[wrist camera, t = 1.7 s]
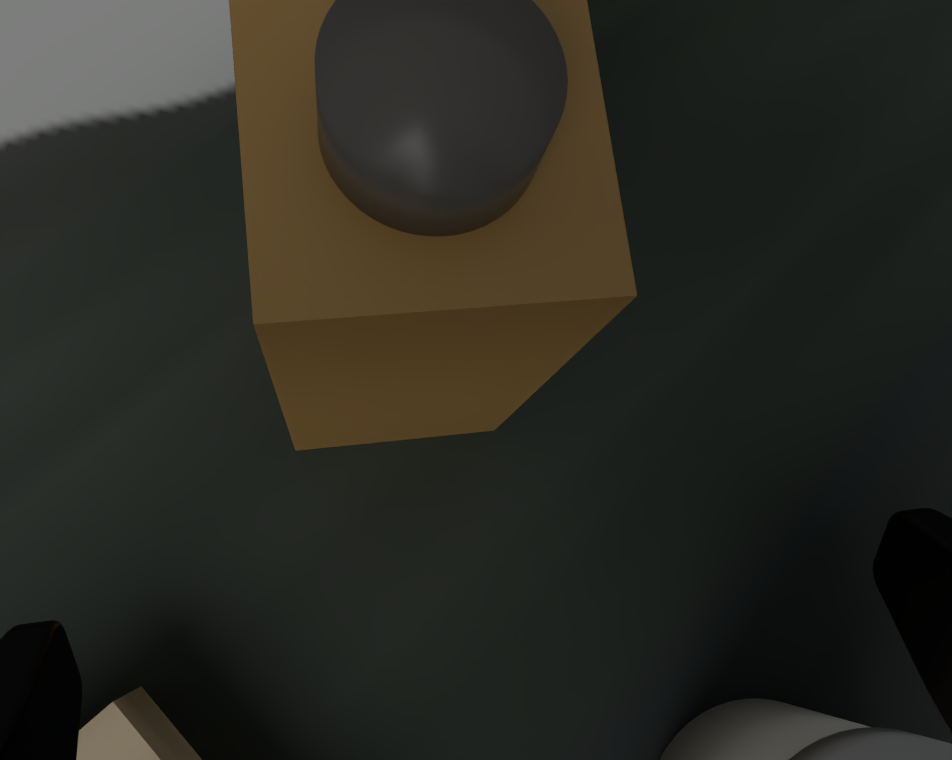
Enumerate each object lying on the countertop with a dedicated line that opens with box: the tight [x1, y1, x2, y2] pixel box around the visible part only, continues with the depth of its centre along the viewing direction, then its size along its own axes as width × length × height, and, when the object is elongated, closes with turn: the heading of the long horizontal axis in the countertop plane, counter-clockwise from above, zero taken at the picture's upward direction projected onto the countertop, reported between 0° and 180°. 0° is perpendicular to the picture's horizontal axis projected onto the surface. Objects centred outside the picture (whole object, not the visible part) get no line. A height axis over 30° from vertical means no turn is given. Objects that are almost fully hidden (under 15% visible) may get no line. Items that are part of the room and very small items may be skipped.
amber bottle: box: [229, 0, 637, 451], centre depth 16 cm, size 5×5×12 cm
